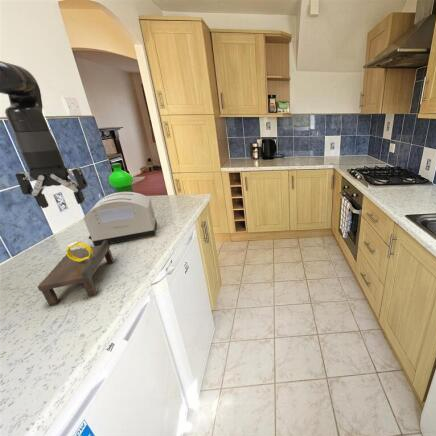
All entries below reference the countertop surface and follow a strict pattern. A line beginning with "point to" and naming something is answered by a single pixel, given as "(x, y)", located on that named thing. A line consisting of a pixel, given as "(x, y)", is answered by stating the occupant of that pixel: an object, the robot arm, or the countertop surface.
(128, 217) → the toaster
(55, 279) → the small brown table
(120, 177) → the plastic bottle
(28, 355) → the countertop surface
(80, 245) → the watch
